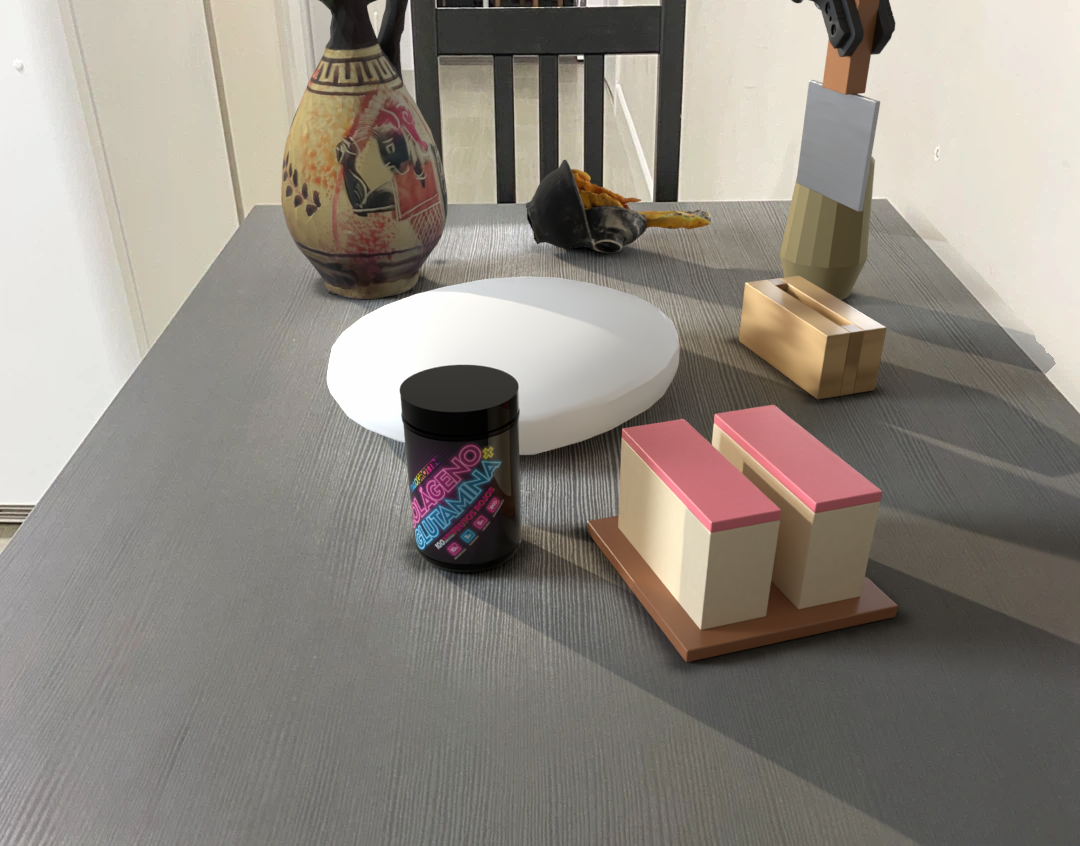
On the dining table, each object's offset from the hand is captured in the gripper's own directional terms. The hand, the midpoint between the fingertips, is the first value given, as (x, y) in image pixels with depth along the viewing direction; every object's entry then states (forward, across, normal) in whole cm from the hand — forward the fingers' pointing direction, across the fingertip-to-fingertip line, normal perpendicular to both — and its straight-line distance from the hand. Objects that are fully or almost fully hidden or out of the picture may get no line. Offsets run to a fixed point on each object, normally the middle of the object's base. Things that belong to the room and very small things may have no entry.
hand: (866, 46), depth 74 cm
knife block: (+14, 0, +18) cm, 23 cm away
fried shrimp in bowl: (-10, -3, +43) cm, 44 cm away
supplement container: (+28, -34, +4) cm, 45 cm away
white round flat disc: (+13, -25, +20) cm, 34 cm away
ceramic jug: (-9, -28, +41) cm, 51 cm away
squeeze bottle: (+4, +10, +29) cm, 31 cm away
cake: (+34, -20, -1) cm, 39 cm away
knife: (+6, 0, +8) cm, 10 cm away
